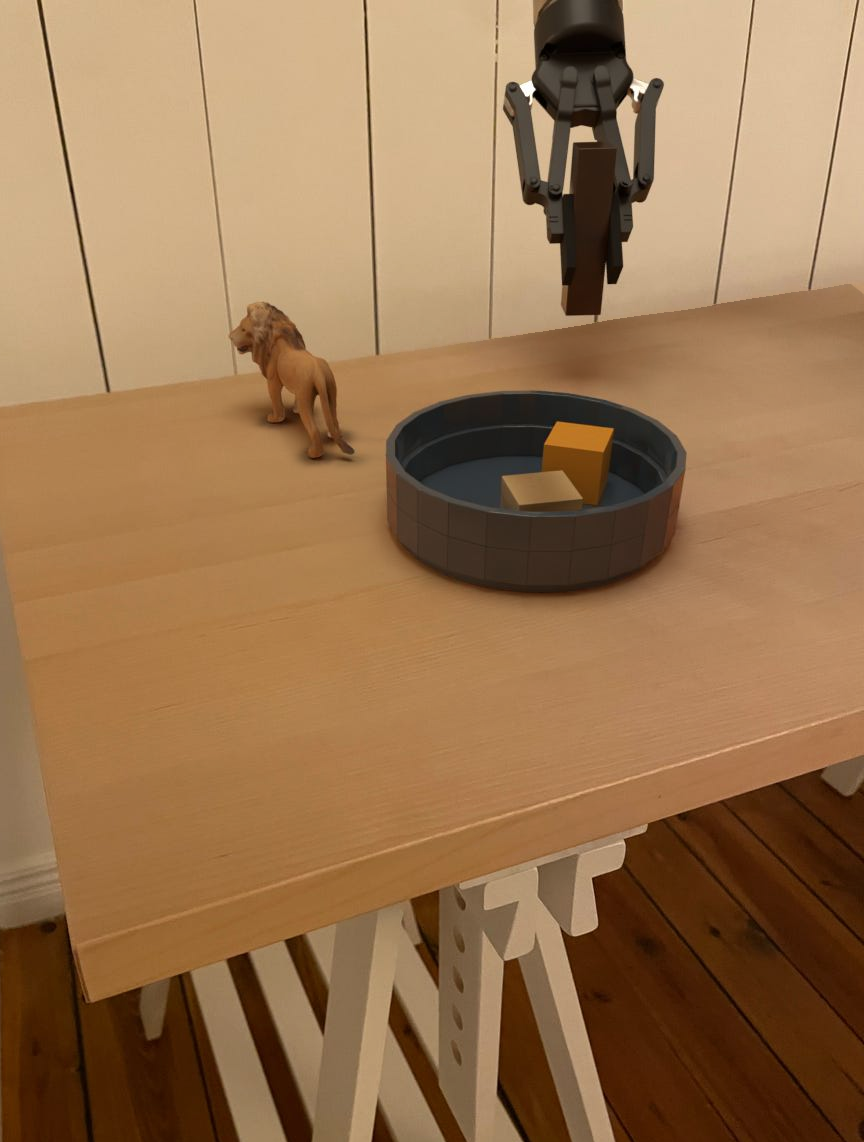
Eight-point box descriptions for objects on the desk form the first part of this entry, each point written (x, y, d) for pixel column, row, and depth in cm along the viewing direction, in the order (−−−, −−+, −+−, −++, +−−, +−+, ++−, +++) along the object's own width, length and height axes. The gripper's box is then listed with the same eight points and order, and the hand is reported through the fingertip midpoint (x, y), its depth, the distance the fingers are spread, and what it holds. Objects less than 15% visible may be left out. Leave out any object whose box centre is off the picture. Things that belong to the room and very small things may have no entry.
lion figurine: (230, 410, 85) (218, 303, 80) (283, 395, 88) (275, 290, 83) (326, 469, 76) (319, 352, 70) (383, 451, 78) (381, 336, 73)
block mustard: (607, 481, 72) (614, 428, 69) (597, 506, 68) (603, 451, 66) (552, 473, 73) (556, 421, 70) (539, 497, 70) (543, 443, 67)
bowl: (640, 458, 76) (650, 388, 73) (705, 594, 61) (722, 513, 58) (387, 461, 77) (386, 392, 73) (387, 599, 61) (385, 518, 58)
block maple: (557, 525, 66) (562, 469, 64) (577, 555, 63) (583, 498, 61) (498, 531, 66) (501, 475, 64) (515, 562, 63) (519, 504, 60)
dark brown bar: (594, 304, 88) (610, 141, 81) (600, 315, 86) (617, 147, 78) (560, 305, 88) (572, 142, 81) (565, 316, 86) (578, 148, 78)
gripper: (661, 52, 89) (679, 297, 85) (480, 57, 90) (489, 301, 86) (685, -17, 82) (705, 247, 78) (486, -11, 82) (496, 253, 78)
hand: (592, 275), depth 82 cm, fingers closed on dark brown bar, 3 cm apart
